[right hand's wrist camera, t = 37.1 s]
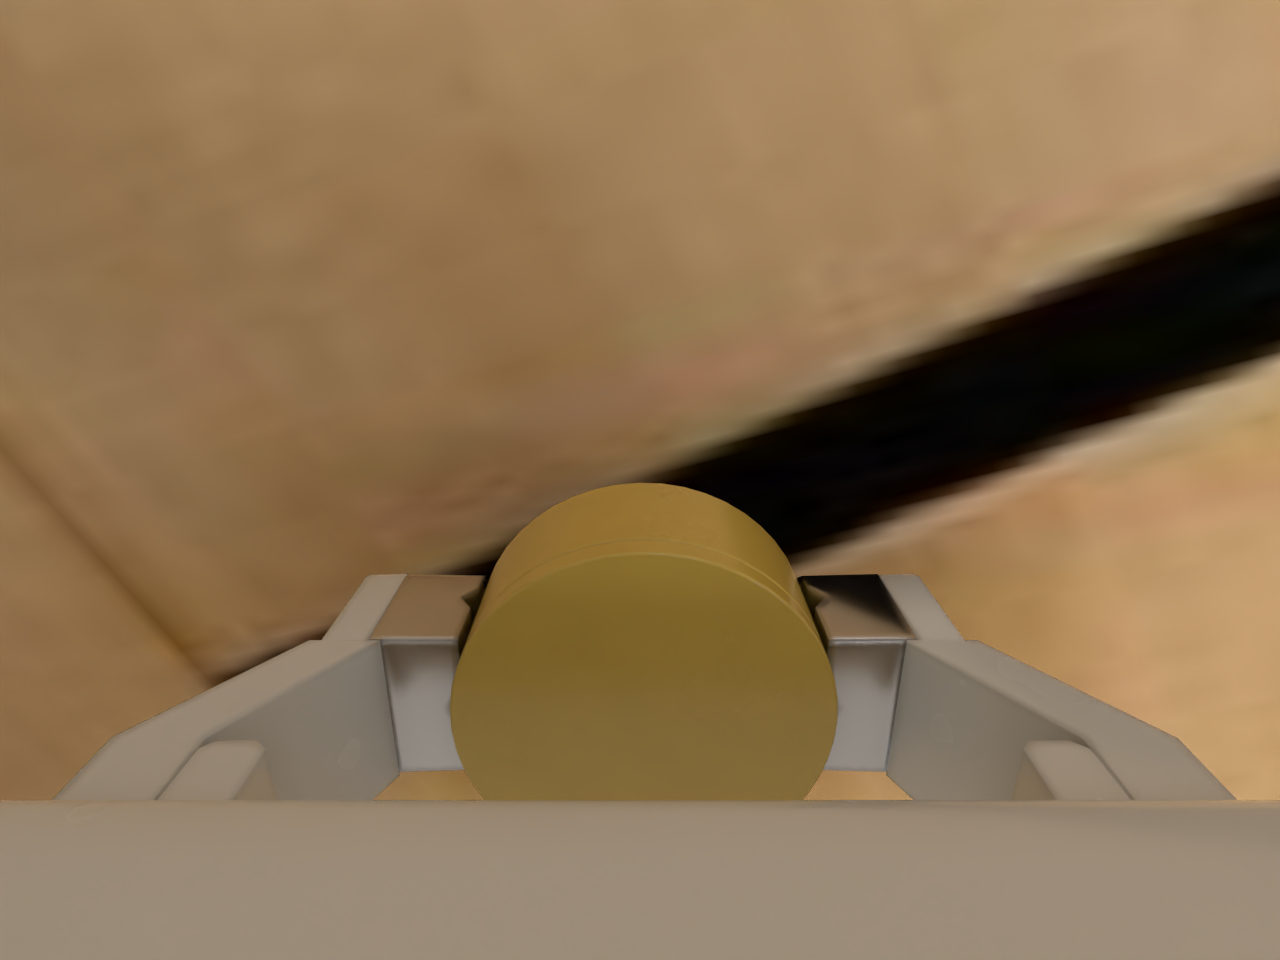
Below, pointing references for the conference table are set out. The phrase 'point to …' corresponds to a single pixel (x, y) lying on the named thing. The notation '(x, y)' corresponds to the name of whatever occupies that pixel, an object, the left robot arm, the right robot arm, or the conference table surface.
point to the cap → (643, 658)
